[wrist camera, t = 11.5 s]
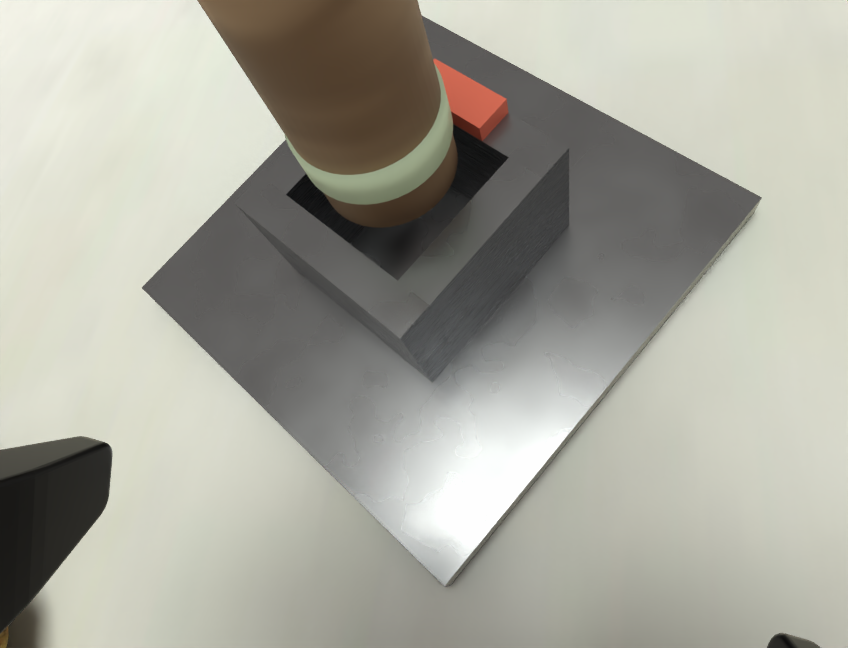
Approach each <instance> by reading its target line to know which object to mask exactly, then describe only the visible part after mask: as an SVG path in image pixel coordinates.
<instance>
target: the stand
mask: <svg viewBox="0 0 848 648" xmlns="http://www.w3.org/2000/svg"><path fill="white" fill-rule="evenodd" d="M422 20H423V24H424V27H425V31H426V35H427V38H428V42H429V46H430V50H431V53H432V57H433V61H434V64H435V65H436V66H437V68H438V70H439V72H440V74H441V77H442V79H443V83H444V86H445V90H446V94H447V98H448V102H449V106H450V110H451V113H452V119H453V136H454V140H455V143H456V147H457V153H458V164H457V170H456V174H455V177H454V180H453V182H452V184H451V186H450V188H449V189H448V191H447V193H446V194H445V195H444V197H443V198H442V199H441V200H440V201H439V202H438V203H437V204H436V205H435V206H434V207H433V208H432V209H430V210H429V211H428V212H427V213H425V214H423V215H422V216H420V217H419V218H417V219H414V220H412V221H410V222H407V223H404V224H401V225H397V226H393V227H384V228H376V227H367V226H362V225H359V224H356V223H354V222H351V221H349V220H347V219H346V218H344V217H343V216H341V215H340V214H339V213H338V212H337V211H336V210H335V209H334V208H333V206H332V205H331V204H330V202H329V201H328V199H327V198H326V196H325V194H324V193H323V192H322V191H321V190H319V189H318V188H317V187H316V186H315V185H314V184H313V182H312V181H311V180H310V178H309V177H308V175H307V174H306V172H305V171H304V169H303V168H302V166H301V165H300V163H299V162H298V160H297V159H296V157H295V156H294V154H293V153H292V151H291V149H290V148H289V146H288V143H287V141H286V140H285V141H284V142H283V143H282V144H281V145H280V146H279V147H278V148H277V149H276V150H275V151H274V152H273V153H272V154H271V155H270V156H269V157H268V159H267V160H266V161H265V162H264V163H263V164H262V165H261V166H260V167H259V168H258V169H257V170H256V171H255V172H254V173H253V174H252V175H251V176H250V177H249V178H248V179H247V180H246V181H245V182H244V183H243V184H242V185H241V186H240V187H239V188H238V189H237V190H236V191H235V192H234V193H233V195H232V196H231V197H230V198H229V199H228V200H227V201H226V202H225V203H224V204H223V205H222V206H221V207H220V208H219V209H218V210H217V211H216V212H215V213H214V214H213V215H212V216H211V217H210V218H209V219H208V220H207V221H206V222H205V223H204V224H203V225H202V226H201V227H200V228H199V229H198V230H197V232H196V233H195V234H194V235H193V236H192V237H191V238H190V239H189V240H188V241H187V242H186V243H185V244H184V245H183V246H182V247H181V248H180V249H179V250H178V251H177V252H176V253H175V254H174V255H173V256H172V257H171V258H170V259H169V260H168V261H167V262H166V263H165V264H164V265H163V266H162V267H161V269H160V270H159V271H158V272H157V273H156V274H155V275H154V276H153V277H152V278H151V279H150V280H149V281H148V282H147V283H146V284H145V285H144V286H143V287H142V289H143V290H144V291H146V292H147V293H148V294H149V295H150V296H151V297H152V298H153V299H154V300H155V301H156V302H157V303H158V304H159V305H160V306H161V307H162V308H163V309H164V310H165V311H166V312H167V313H168V314H169V315H170V316H171V317H172V318H173V319H174V320H175V321H176V322H177V323H178V324H179V325H180V326H181V327H182V328H183V329H184V330H185V331H186V332H187V333H188V334H189V335H190V336H191V337H192V338H193V339H194V340H195V341H196V342H197V343H198V344H199V345H200V346H201V347H202V348H203V349H204V350H205V351H206V352H207V353H208V354H209V355H210V356H211V357H212V358H213V359H214V360H215V361H216V362H217V363H218V364H219V365H221V366H222V367H223V368H224V369H225V370H226V371H227V372H228V373H229V374H230V375H231V376H232V377H233V378H234V379H235V380H236V381H237V382H238V383H239V384H240V385H241V386H242V387H243V388H244V389H245V390H246V391H247V392H248V393H249V394H250V395H251V396H252V397H253V398H254V399H255V400H256V401H257V402H258V403H259V404H260V405H261V406H262V407H263V408H264V409H265V410H266V411H267V412H268V413H269V414H270V415H271V416H272V417H273V418H274V419H275V420H276V421H277V422H278V423H279V424H280V425H281V426H282V427H283V428H284V429H285V430H286V431H287V432H288V433H289V434H290V435H291V436H292V437H293V438H294V439H296V440H297V441H298V442H299V443H300V444H301V445H302V446H303V447H304V448H305V449H306V450H307V451H308V452H309V453H310V454H311V455H312V456H313V457H314V458H315V459H316V460H317V461H318V462H319V463H320V464H321V465H322V466H323V467H324V468H325V469H326V470H327V471H328V472H329V473H330V474H331V475H332V476H333V477H334V478H335V479H336V480H337V481H338V482H339V483H340V484H341V485H342V486H343V487H344V488H345V489H346V490H347V491H348V492H349V493H350V494H351V495H352V496H353V497H354V498H355V499H356V500H357V501H358V502H359V503H360V504H361V505H362V506H363V507H364V508H365V509H366V510H367V511H368V512H369V513H371V514H372V515H373V516H374V517H375V518H376V519H377V520H378V521H379V522H380V523H381V524H382V525H383V526H384V527H385V528H386V529H387V530H388V531H389V532H390V533H391V534H392V535H393V536H394V537H395V538H396V539H397V540H398V541H399V542H400V543H401V544H402V545H403V546H404V547H405V548H406V549H407V550H408V551H409V552H410V553H411V554H412V555H413V556H414V557H415V558H416V559H417V560H418V561H419V562H420V563H421V564H422V565H423V566H424V567H425V568H426V569H427V570H428V571H429V572H430V573H431V574H432V575H433V576H434V577H435V578H436V579H437V580H438V581H439V582H440V583H441V584H442V585H443V586H450V585H451V584H452V583H453V581H454V580H455V579H456V578H457V576H458V575H459V574H460V573H461V572H462V570H463V569H464V568H465V567H466V565H467V564H468V563H469V562H470V561H471V559H472V558H473V557H474V556H475V554H476V553H477V552H478V551H479V549H480V548H481V547H482V546H483V545H484V543H485V542H486V541H487V540H488V538H489V537H490V536H491V535H492V534H493V532H494V531H495V530H496V529H497V527H498V526H499V525H500V524H501V523H502V521H503V520H504V519H505V518H506V516H507V515H508V514H509V513H510V511H511V510H512V509H513V508H514V507H515V505H516V504H517V503H518V502H519V500H520V499H521V498H522V497H523V496H524V494H525V493H526V492H527V491H528V489H529V488H530V487H531V486H532V484H533V483H534V482H535V481H536V480H537V478H538V477H539V476H540V475H541V473H542V472H543V471H544V470H545V469H546V467H547V466H548V465H549V464H550V462H551V461H552V460H553V459H554V458H555V456H556V455H557V454H558V453H559V451H560V450H561V449H562V448H563V446H564V445H565V444H566V443H567V442H568V440H569V439H570V438H571V437H572V435H573V434H574V433H575V432H576V431H577V429H578V428H579V427H580V426H581V424H582V423H583V422H584V421H585V419H586V418H587V417H588V416H589V415H590V413H591V412H592V411H593V410H594V408H595V407H596V406H597V405H598V404H599V402H600V401H601V400H602V399H603V397H604V396H605V395H606V394H607V393H608V391H609V390H610V389H611V388H612V386H613V385H614V384H615V383H616V381H617V380H618V379H619V378H620V377H621V375H622V374H623V373H624V372H625V370H626V369H627V368H628V367H629V366H630V364H631V363H632V362H633V361H634V359H635V358H636V357H637V356H638V354H639V353H640V352H641V351H642V350H643V348H644V347H645V346H646V345H647V343H648V342H649V341H650V340H651V339H652V337H653V336H654V335H655V334H656V332H657V331H658V330H659V329H660V328H661V326H662V325H663V324H664V323H665V321H666V320H667V319H668V318H669V316H670V315H671V314H672V313H673V312H674V310H675V309H676V308H677V307H678V305H679V304H680V303H681V302H682V301H683V299H684V298H685V297H686V296H687V294H688V293H689V292H690V291H691V289H692V288H693V287H694V286H695V285H696V283H697V282H698V281H699V280H700V278H701V277H702V276H703V275H704V274H705V272H706V271H707V270H708V269H709V267H710V266H711V265H712V264H713V262H714V261H715V260H716V259H717V258H718V256H719V255H720V254H721V253H722V251H723V250H724V249H725V248H726V247H727V245H728V244H729V243H730V242H731V240H732V239H733V238H734V237H735V236H736V234H737V233H738V232H739V231H740V229H741V228H742V227H743V226H744V224H745V223H746V222H747V221H748V220H749V218H750V217H751V216H752V215H753V213H754V212H755V210H756V208H757V206H758V204H759V202H760V200H761V198H762V197H760V196H758V195H756V194H754V193H752V192H750V191H748V190H747V189H745V188H743V187H741V186H739V185H737V184H735V183H733V182H732V181H730V180H728V179H726V178H724V177H722V176H720V175H719V174H717V173H715V172H713V171H711V170H709V169H707V168H705V167H704V166H702V165H700V164H698V163H696V162H694V161H692V160H691V159H689V158H687V157H685V156H683V155H681V154H679V153H677V152H676V151H674V150H672V149H670V148H668V147H666V146H664V145H662V144H661V143H659V142H657V141H655V140H653V139H651V138H649V137H648V136H646V135H644V134H642V133H640V132H638V131H636V130H634V129H633V128H631V127H629V126H627V125H625V124H623V123H621V122H620V121H618V120H616V119H614V118H612V117H610V116H608V115H606V114H605V113H603V112H601V111H599V110H597V109H595V108H593V107H591V106H590V105H588V104H586V103H584V102H582V101H580V100H578V99H577V98H575V97H573V96H571V95H569V94H567V93H565V92H563V91H562V90H560V89H558V88H556V87H554V86H552V85H550V84H549V83H547V82H545V81H543V80H541V79H539V78H537V77H535V76H534V75H532V74H530V73H528V72H526V71H524V70H522V69H521V68H519V67H517V66H515V65H513V64H511V63H509V62H507V61H506V60H504V59H502V58H500V57H498V56H496V55H494V54H492V53H491V52H489V51H487V50H485V49H483V48H481V47H479V46H478V45H476V44H474V43H472V42H470V41H468V40H466V39H464V38H463V37H461V36H459V35H457V34H455V33H453V32H451V31H450V30H448V29H446V28H444V27H442V26H440V25H438V24H436V23H435V22H433V21H431V20H429V19H427V18H425V17H423V16H422Z"/></svg>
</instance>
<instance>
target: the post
mask: <svg viewBox="0 0 848 648" xmlns="http://www.w3.org/2000/svg"><path fill="white" fill-rule="evenodd" d="M198 2H199V4H200V5H201V7H202V8H203V10H204V11H205V13H206V14H207V16H208V17H209V19H210V20H211V22H212V23H213V25H214V26H215V28H216V29H217V31H218V33H219V34H220V36H221V37H222V39H223V40H224V42H225V43H226V45H227V46H228V48H229V49H230V51H231V52H232V54H233V55H234V57H235V59H236V60H237V62H238V63H239V65H240V66H241V68H242V69H243V71H244V72H245V74H246V75H247V77H248V78H249V80H250V81H251V83H252V84H253V86H254V88H255V89H256V91H257V92H258V94H259V95H260V97H261V98H262V100H263V101H264V103H265V104H266V106H267V107H268V109H269V110H270V112H271V114H272V115H273V117H274V118H275V120H276V121H277V123H278V124H279V126H280V127H281V129H282V130H283V132H284V133H285V138H286V141H287V143H288V146H289V148H290V149H291V151H292V153H293V154H294V156H295V157H296V159H297V160H298V162H299V163H300V165H301V166H302V168H303V169H304V171H305V172H306V174H307V175H308V177H309V178H310V180H311V181H312V182H313V184H314V185H315V186H316V187H317V188H318V189H319V190H321V191H322V192H323V193H324V194H325V196H326V198H327V199H328V201H329V202H330V204H331V205H332V206H333V208H334V209H335V210H336V211H337V212H338V213H339V214H340V215H341V216H343V217H344V218H346V219H347V220H349V221H351V222H354V223H356V224H359V225H362V226H367V227H376V228H384V227H393V226H397V225H401V224H404V223H407V222H410V221H412V220H414V219H417V218H419V217H420V216H422V215H423V214H425V213H427V212H428V211H429V210H430V209H432V208H433V207H434V206H435V205H436V204H437V203H438V202H439V201H440V200H441V199H442V198H443V197H444V195H445V194H446V193H447V191H448V189H449V188H450V186H451V184H452V182H453V180H454V177H455V174H456V170H457V164H458V153H457V147H456V143H455V140H454V136H453V119H452V113H451V110H450V106H449V102H448V98H447V94H446V90H445V86H444V83H443V79H442V77H441V74H440V72H439V70H438V68H437V66H436V65H435V64H434V61H433V57H432V53H431V50H430V46H429V42H428V38H427V35H426V31H425V27H424V24H423V20H422V16H421V12H420V9H419V5H418V1H417V0H198Z"/></svg>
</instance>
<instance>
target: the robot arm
mask: <svg viewBox="0 0 848 648" xmlns="http://www.w3.org/2000/svg"><path fill="white" fill-rule="evenodd" d="M111 466H112V449H111V447H110V446H109V444H107V443H105V442H102V441H99V440H95V439H91V438H88V437H82V436H79V437H73V438H67V439H61V440H55V441H49V442H44V443H38V444H32V445H26V446H20V447H15V448H9V449H3V450H0V634H1V633H2V632H3V631H4V630H5V629H6V628H7V626H8V625H9V624H10V623H11V622H12V621H13V620H14V619H15V618H16V617H17V616H18V615H19V614H20V613H21V612H22V611H23V610H24V608H25V607H26V606H27V605H28V604H29V603H30V602H31V601H32V599H33V598H34V597H35V596H36V595H37V594H38V592H39V591H40V590H41V589H42V588H43V586H44V585H45V584H46V583H47V581H48V580H49V579H50V578H51V576H52V575H53V574H54V573H55V571H56V570H57V569H58V568H59V566H60V565H61V564H62V563H63V561H64V560H65V559H66V558H67V556H68V555H69V554H70V553H71V551H72V550H73V549H74V548H75V546H76V545H77V544H78V543H79V541H80V540H81V539H82V538H83V536H84V535H85V534H86V533H87V531H88V530H89V529H90V528H91V527H92V525H93V524H94V523H95V522H96V520H97V519H98V518H99V517H100V515H101V514H102V512H103V510H104V509H105V507H106V504H107V501H108V497H109V489H110V478H111ZM767 648H820V647H819V646H818V645H817V644H815V643H814V642H812V641H809V640H806V639H803V638H799V637H796V636H792V635H788V634H784V633H779V634H776V635H774V636H773V637H772V639H771V640H770V642H769V644H768V646H767Z"/></svg>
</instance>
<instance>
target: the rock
mask: <svg viewBox="0 0 848 648" xmlns="http://www.w3.org/2000/svg"><path fill="white" fill-rule="evenodd" d="M8 638H9V631H8V626H7V628H6V629H5V630H4V631H3V632H2V633H1V634H0V648H6V647H7V643H8Z"/></svg>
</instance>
